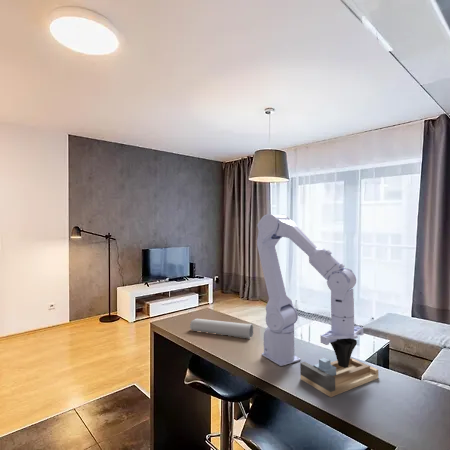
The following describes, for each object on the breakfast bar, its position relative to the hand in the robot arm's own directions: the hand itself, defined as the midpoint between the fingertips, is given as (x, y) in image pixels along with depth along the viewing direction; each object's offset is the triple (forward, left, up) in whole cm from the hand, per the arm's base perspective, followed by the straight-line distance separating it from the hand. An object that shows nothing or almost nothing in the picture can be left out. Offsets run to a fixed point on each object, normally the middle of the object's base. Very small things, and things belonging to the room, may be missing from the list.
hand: (343, 366), depth 80 cm
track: (0, -1, -3) cm, 3 cm away
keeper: (0, -7, -2) cm, 7 cm away
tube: (-46, -12, -3) cm, 48 cm away
